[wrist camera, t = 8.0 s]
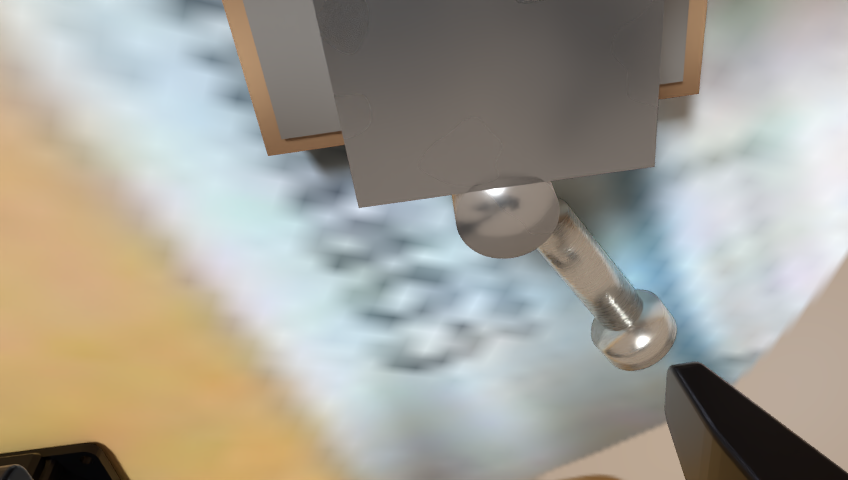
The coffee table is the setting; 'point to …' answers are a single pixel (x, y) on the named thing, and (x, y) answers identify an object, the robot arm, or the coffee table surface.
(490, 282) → the coffee table surface
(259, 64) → the plinth
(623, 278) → the loose bolt
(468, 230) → the block
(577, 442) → the coffee table surface
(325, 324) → the coffee table surface
